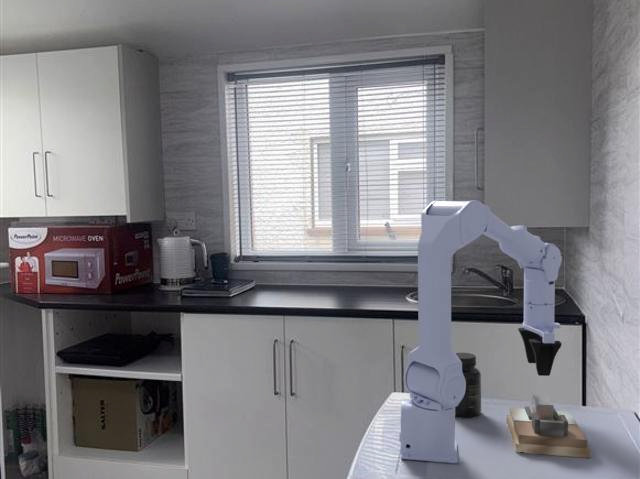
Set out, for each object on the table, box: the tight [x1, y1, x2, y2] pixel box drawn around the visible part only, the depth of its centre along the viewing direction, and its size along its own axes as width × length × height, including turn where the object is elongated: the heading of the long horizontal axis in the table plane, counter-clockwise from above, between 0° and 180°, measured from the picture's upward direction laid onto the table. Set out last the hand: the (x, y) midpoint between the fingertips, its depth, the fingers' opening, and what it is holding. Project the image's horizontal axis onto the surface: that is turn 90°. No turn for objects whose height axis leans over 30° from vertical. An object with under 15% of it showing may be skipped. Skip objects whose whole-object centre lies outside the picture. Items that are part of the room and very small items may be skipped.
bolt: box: [530, 394, 555, 420], centre depth 106 cm, size 3×5×3 cm, turn 168°
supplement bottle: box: [455, 352, 482, 419], centre depth 115 cm, size 7×7×12 cm
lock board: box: [506, 405, 591, 459], centre depth 102 cm, size 12×13×6 cm
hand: (538, 368), depth 113 cm, fingers open, 7 cm apart
